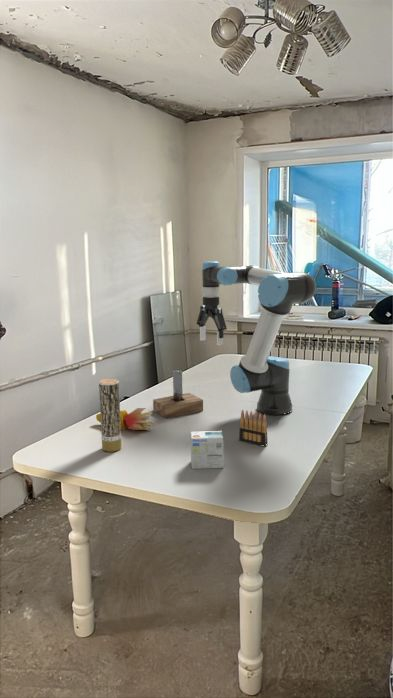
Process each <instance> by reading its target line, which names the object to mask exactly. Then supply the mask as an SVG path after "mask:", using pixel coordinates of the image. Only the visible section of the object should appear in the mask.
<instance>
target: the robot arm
mask: <svg viewBox="0 0 393 698" xmlns="http://www.w3.org/2000/svg"><path fill="white" fill-rule="evenodd" d="M201 272H202V273H201V274H202V275H201V277H202V305H200V309H199V314H198V317H197V320H196V325H197V326H198V327H199V341H200V342H201V341H207V334H206V333H207V332H206V329H207V328H206V323H207V322H208V320H209V318H211V319H212V320H213V322H214V324H215V326H216V328H217V330H216V340H217V341H216V346H223V345H224V331H226V330H227V329H228V328H227V325H226V324H227V323H226V321H225V318H224V314H223V308H221V307H218V305H220V297H219V296H220V285H223V286H232V285H237V284H238V285H239V284H249V285H254V286H258V288H257V294H258V295H257V297H258V300H259V303H260V306H261V308H262V309H261V312H260V314H259V317H258V319H257V323H256V326H255V329H254V332H253V334H252V337H251V340H250V343H249V346H248V348H247V352H246V354H244V355H242V356H241V357H240V361H239V363H238V364H237V365H233V366H232V367H231V368H230V371H229V373H230V374H229V375H230V376H229V377H230V381H231V385H232V386H233V389H235V391H236V392H238V393H240V394H246V393H247V394H248V393H252V392H253V393H254V392H256V391H261V392H260V393H259V394H260V395H259V398H258V401H257V403H256V410H257V411H258V412H259V413H261V414H263V415H264V414H265V415H269V414H272V415H271V416H279V415H278V414H284V413H288V412H290V411H291V410H292V411H293V404H292V400H291V396H290V393H289V388H290V385H289V384H290V370H291V369H290V361H289V360H288V359H286V358H284V357H279V356H272V355H271V351H272V350H273V349H272V348H273V346H274V343H275V341H276V339H277V338H276V337H277V335H278V332H279V330H280V328H281V325H282V322H283V319H284V317H285V316H287V315H289V314H290V312H291V310H292V307H293V306H294V305H297V304H304V303H307V302H309V301H310V300H312V299H313V297H314V295H315V294H316V292H317V291H316V290H317V284H316V280H315V278H314V277H313V276H312V275H311V274H309V273H306V272H299V271H298V272H297V271H294V272H282V271H277V270H273V269H268V268H267V269H266V268H261V267H259V266H258V265H241V266H220V262H219V261H215V260H214V261H212V260H211V261H210V260H209V261H204V262H203V263H202V270H201ZM290 413H291V412H290ZM275 414H277V415H275ZM288 414H289V413H288ZM284 415H285V414H284Z"/></svg>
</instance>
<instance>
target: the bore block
mask: <svg viewBox="0 0 393 698" xmlns="http://www.w3.org/2000/svg"><path fill="white" fill-rule="evenodd" d="M152 407H153V411H154V412H155V413H157V414H158V415H160V416H162V417H163V418H165V419H170V418H175V417H180V416H183V415H189V414H195V413H199V412H203V411H204V399H202V398H200V397H199V396H196V395H194V394H192V393H190V392H187V393H183V401H179V402H175V401H173V395H169V396H164V397H159V398H153V399H152Z"/></svg>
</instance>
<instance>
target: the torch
mask: <svg viewBox="0 0 393 698" xmlns="http://www.w3.org/2000/svg"><path fill="white" fill-rule="evenodd" d="M146 409H147V408H146V407H137V408H135V409H134V410H132V411H131V412H129V413H128V412H127V410H126V409H123V410H120V423H121V431H125V430H126V429H128V428H129V429H130V430H132V431H141V430H143V431H151V428H150V427H154V426H156V424H155V423H154V422H152V421H148V420H149V419H150V417H152V414H153V412H150V411H148V412H143V411H145V410H146ZM95 418H96V421H97V422H99V423H101V414H100V413H97V414H96V417H95Z"/></svg>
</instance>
